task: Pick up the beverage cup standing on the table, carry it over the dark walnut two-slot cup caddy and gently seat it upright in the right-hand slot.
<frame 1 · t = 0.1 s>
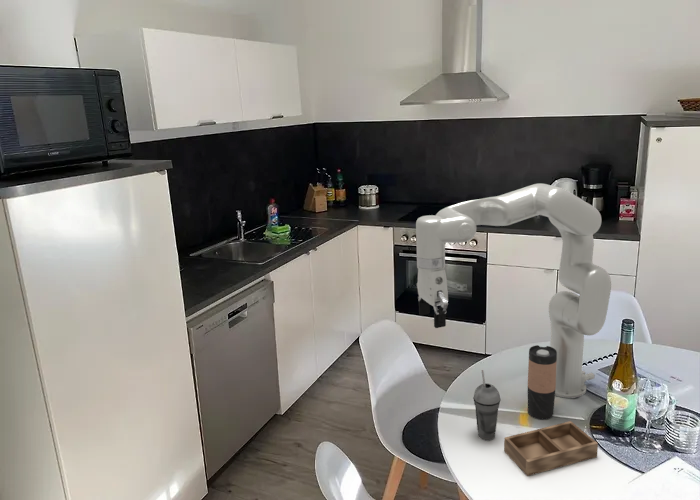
hand: (432, 320, 155), 31 cm above the table, tool pointing down, fingers open, 9 cm apart
travel mug: (540, 413, 163), on the table
cup caddy: (549, 454, 145), on the table
beverage cup: (486, 436, 154), on the table
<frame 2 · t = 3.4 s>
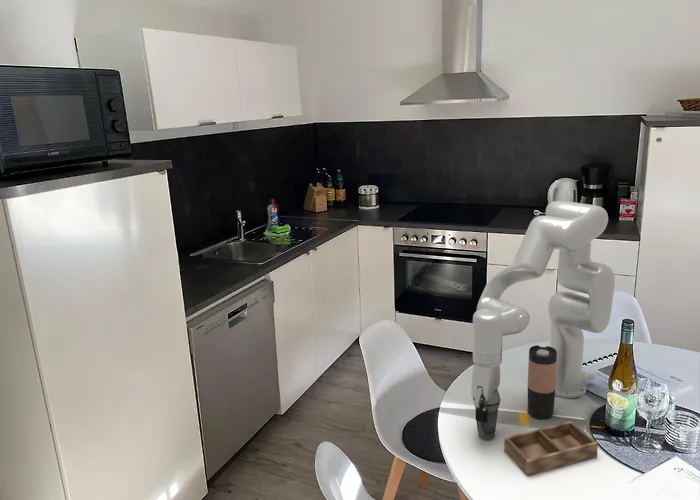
hand: (486, 414, 152), 7 cm above the table, tool pointing down, fingers closed on beverage cup, 6 cm apart
beverage cup: (486, 436, 154), on the table, touching gripper
everything else where it was.
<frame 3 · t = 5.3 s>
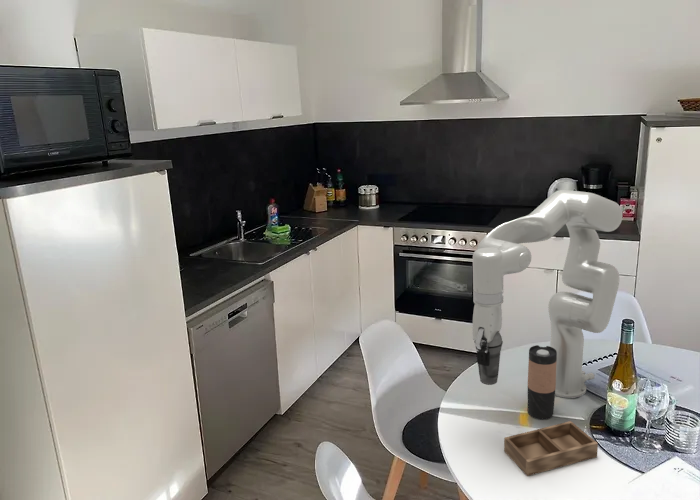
hand: (488, 357, 148), 24 cm above the table, tool pointing down, fingers closed on beverage cup, 6 cm apart
beverage cup: (488, 381, 150), point 17 cm above the table, touching gripper
everything else where it was.
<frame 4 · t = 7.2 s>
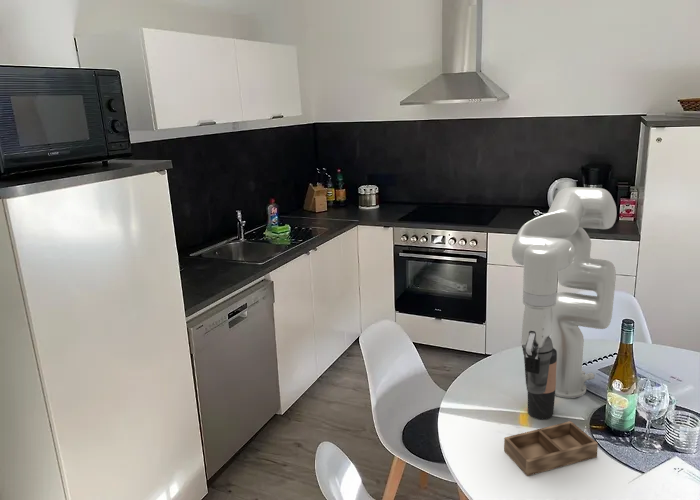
hand: (537, 364, 136), 27 cm above the table, tool pointing down, fingers closed on beverage cup, 6 cm apart
beverage cup: (535, 390, 138), point 20 cm above the table, touching gripper
everything else where it was.
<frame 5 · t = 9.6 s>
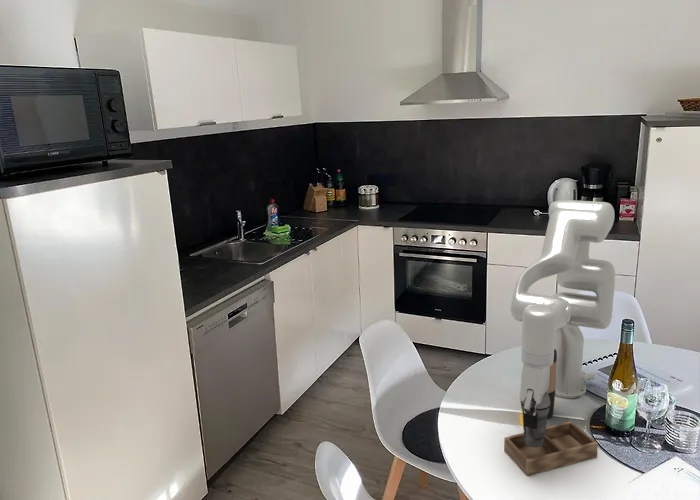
hand: (534, 419, 140), 12 cm above the table, tool pointing down, fingers closed on beverage cup, 6 cm apart
beverage cup: (533, 442, 142), point 5 cm above the table, touching gripper
everything else where it was.
when the fingers open (9 cm above the table, at t = 11.3 s): beverage cup drops 2 cm, resting on cup caddy.
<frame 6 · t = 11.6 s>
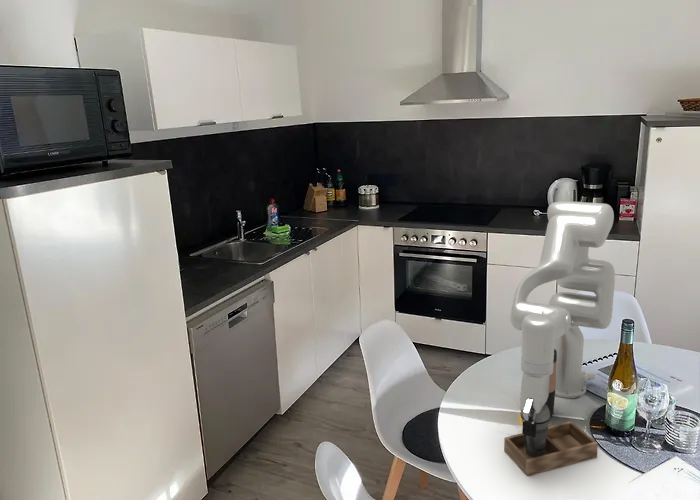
hand: (534, 425, 141), 10 cm above the table, tool pointing down, fingers open, 9 cm apart
beverage cup: (535, 452, 145), point 1 cm above the table, touching cup caddy, gripper
everything else where it was.
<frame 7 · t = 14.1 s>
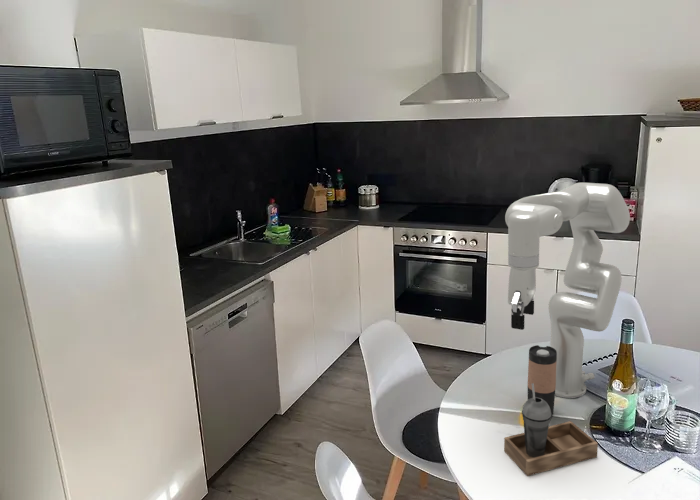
hand: (522, 320, 147), 33 cm above the table, tool pointing down, fingers open, 9 cm apart
beverage cup: (535, 453, 145), resting on cup caddy
everything else where it was.
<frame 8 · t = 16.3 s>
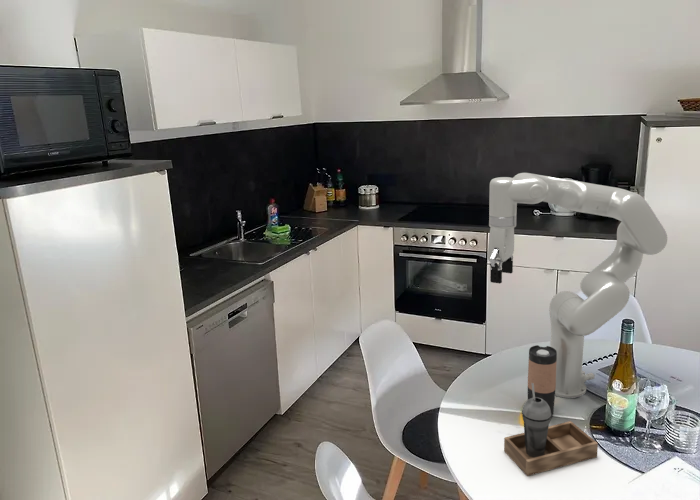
hand: (501, 277, 164), 38 cm above the table, tool pointing down, fingers open, 9 cm apart
nothing on the table moved.
at the end: beverage cup 1.8 cm from the target spot on the cup caddy, point 0.4 cm above the cup caddy's base; beverage cup tilted 0°; the gripper is holding nothing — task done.
